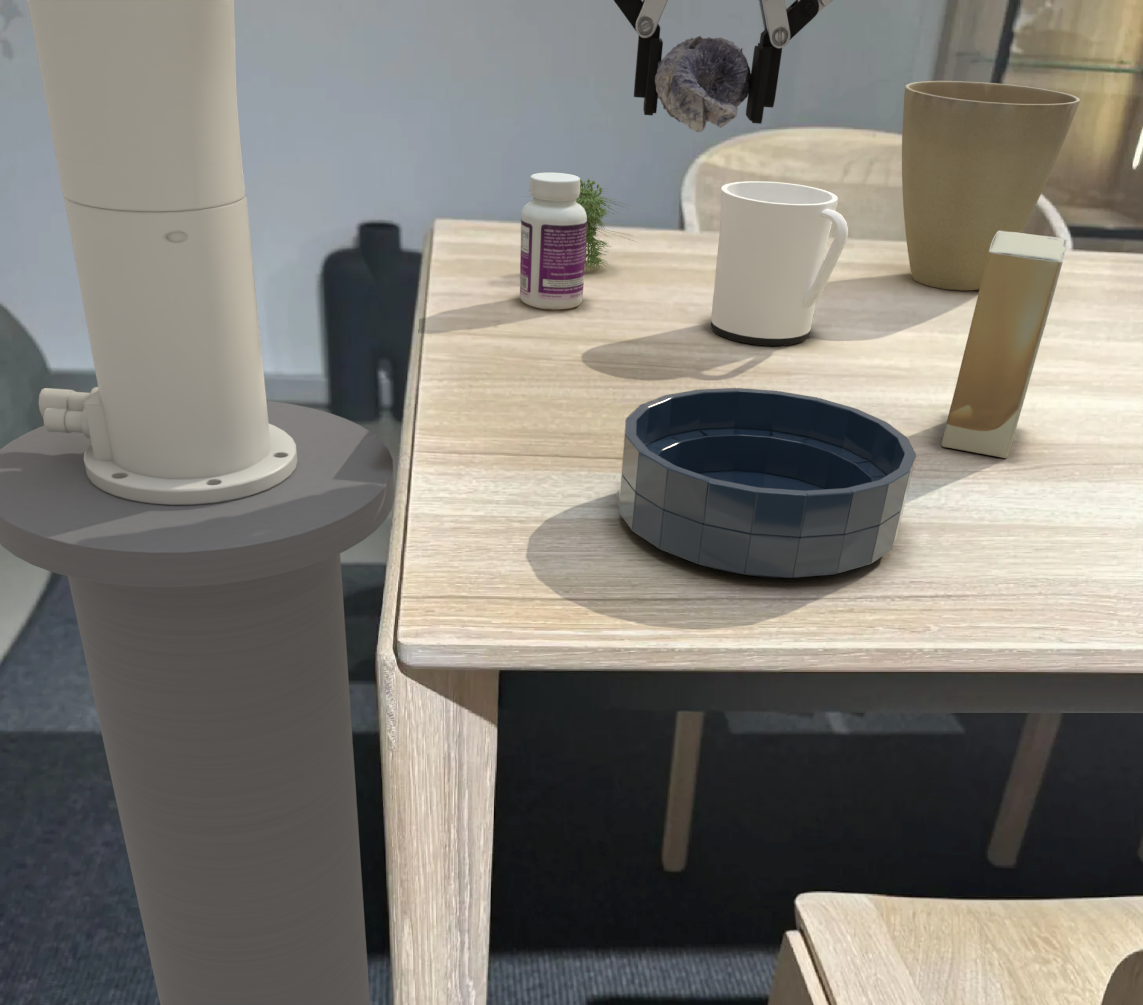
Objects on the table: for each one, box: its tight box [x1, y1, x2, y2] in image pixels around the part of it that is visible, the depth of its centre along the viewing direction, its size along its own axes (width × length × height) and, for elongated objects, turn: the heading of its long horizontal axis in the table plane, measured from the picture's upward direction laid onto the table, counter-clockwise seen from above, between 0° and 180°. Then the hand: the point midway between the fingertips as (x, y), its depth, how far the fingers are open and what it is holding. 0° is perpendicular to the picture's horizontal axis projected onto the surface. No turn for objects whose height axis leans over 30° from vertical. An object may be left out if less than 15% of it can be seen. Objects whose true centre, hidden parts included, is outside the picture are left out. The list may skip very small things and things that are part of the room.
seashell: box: [655, 35, 751, 133], centre depth 72 cm, size 5×5×10 cm
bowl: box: [618, 387, 917, 579], centre depth 64 cm, size 15×15×5 cm
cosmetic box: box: [941, 231, 1068, 459], centre depth 75 cm, size 6×4×12 cm
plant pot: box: [901, 80, 1081, 291], centre depth 109 cm, size 15×15×16 cm
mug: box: [710, 180, 849, 347], centre depth 93 cm, size 11×9×10 cm
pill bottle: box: [519, 172, 587, 310], centre depth 97 cm, size 5×5×10 cm
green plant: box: [518, 178, 646, 272], centre depth 107 cm, size 12×12×8 cm
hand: (701, 113), depth 73 cm, fingers closed on seashell, 5 cm apart
